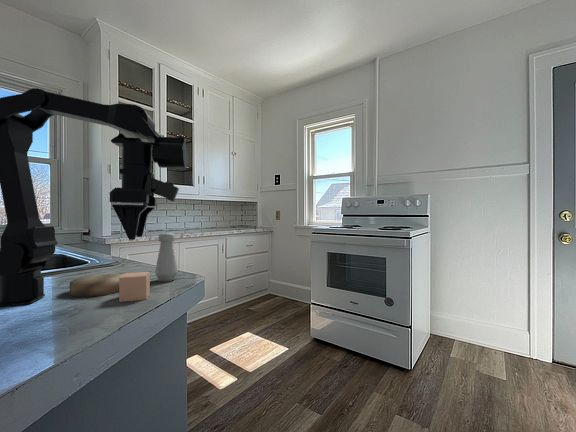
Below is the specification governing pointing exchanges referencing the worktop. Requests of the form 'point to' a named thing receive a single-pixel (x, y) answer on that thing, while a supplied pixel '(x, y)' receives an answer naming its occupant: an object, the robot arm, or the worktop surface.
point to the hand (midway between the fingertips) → (136, 238)
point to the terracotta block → (134, 286)
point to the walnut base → (95, 285)
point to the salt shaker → (166, 258)
